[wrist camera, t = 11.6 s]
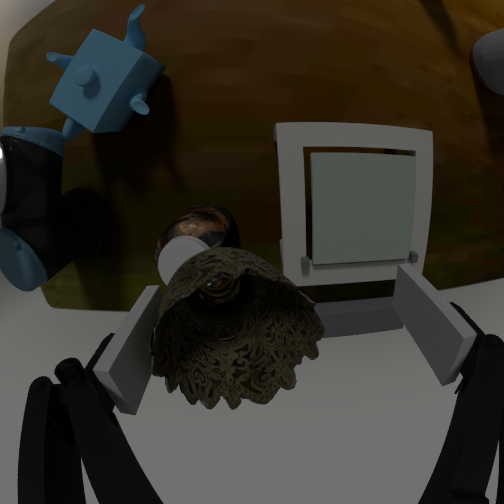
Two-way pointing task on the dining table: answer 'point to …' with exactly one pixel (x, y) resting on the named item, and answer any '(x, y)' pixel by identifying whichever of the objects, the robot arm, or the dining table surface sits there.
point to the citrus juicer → (489, 61)
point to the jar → (194, 238)
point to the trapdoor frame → (293, 197)
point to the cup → (232, 329)
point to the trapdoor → (361, 228)
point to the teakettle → (105, 81)
